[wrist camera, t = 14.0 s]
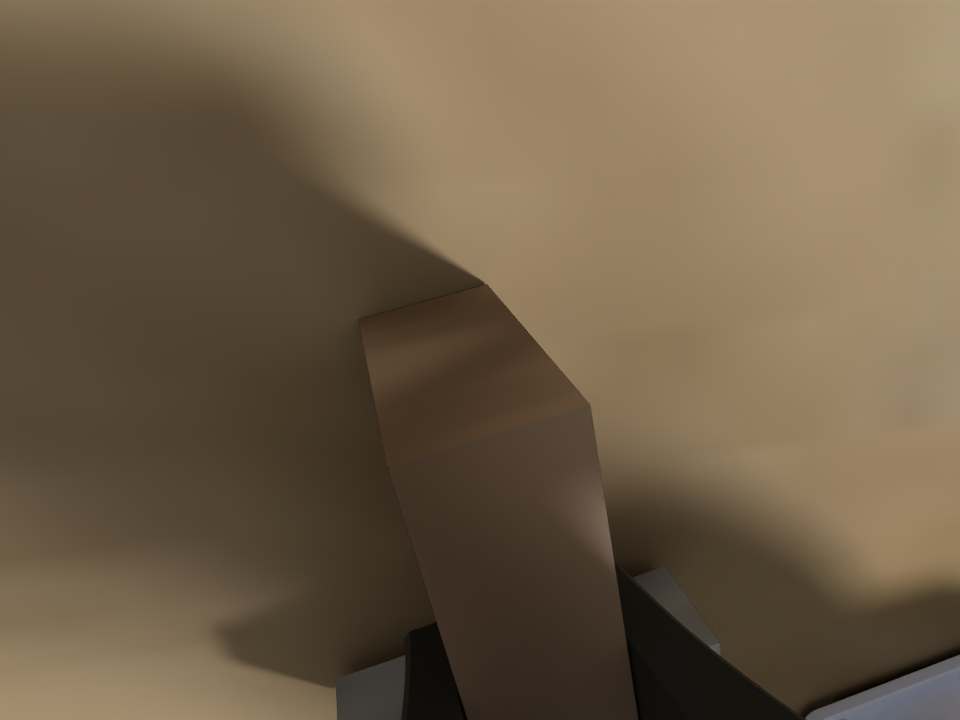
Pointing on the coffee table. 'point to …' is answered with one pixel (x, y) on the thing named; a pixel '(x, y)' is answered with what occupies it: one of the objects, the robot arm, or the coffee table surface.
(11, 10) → the coffee table surface
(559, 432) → the plank on grey base
